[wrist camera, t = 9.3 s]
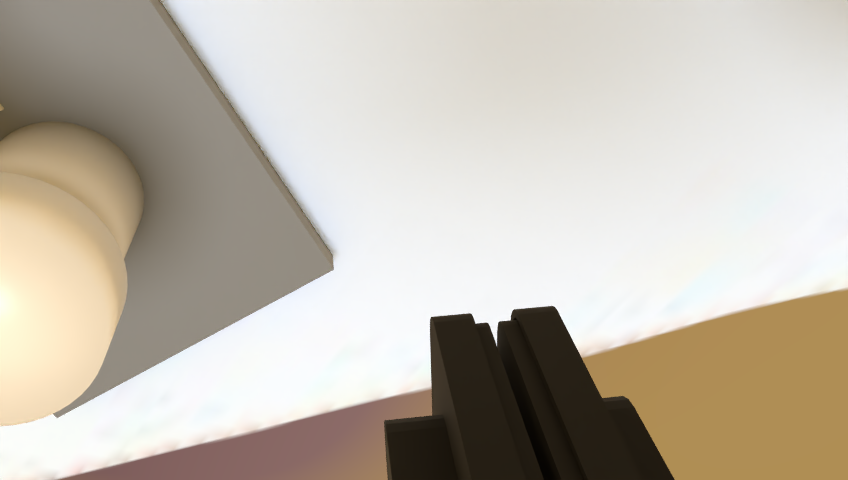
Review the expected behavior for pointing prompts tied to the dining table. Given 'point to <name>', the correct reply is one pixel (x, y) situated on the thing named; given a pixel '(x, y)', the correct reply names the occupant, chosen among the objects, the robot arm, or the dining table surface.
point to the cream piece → (53, 297)
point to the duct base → (150, 171)
